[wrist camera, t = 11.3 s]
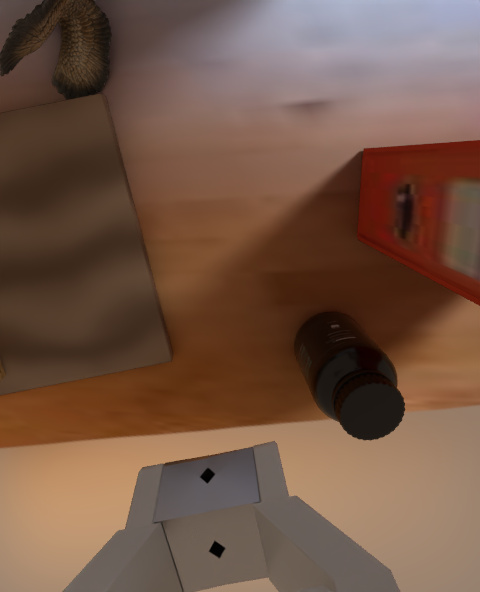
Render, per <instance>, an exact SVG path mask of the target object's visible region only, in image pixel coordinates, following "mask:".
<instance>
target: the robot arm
mask: <svg viewBox="0 0 480 592" xmlns="http://www.w3.org/2000/svg"><path fill="white" fill-rule="evenodd" d="M267 577H269V579H270V581H271V582H272V583H273V585H274V586H275V587H276V589H277V590H278V591H279V592H400V590H399V588H398V586H397V584H396V581H395V579H394V577H393V575H392V572H391V570H390V569H389V568H387V567H386V566H385V565H383V564H382V563H381V562H380V561H379V560H377V559H376V558H375V557H373V556H372V555H371V554H370V553H368V552H367V551H366V550H364V549H363V548H362V547H361V546H359V545H358V544H357V543H356V542H354V541H353V540H352V539H351V538H349V537H348V536H347V535H345V534H344V533H343V532H342V531H340V530H339V529H338V528H337V527H335V526H334V525H333V524H332V523H330V522H329V521H328V520H326V519H325V518H324V517H323V516H321V515H320V514H319V513H317V512H316V511H315V510H314V509H313V508H311V507H310V506H309V505H308V504H306V503H305V502H304V501H302V500H301V499H300V498H299V497H297V496H291V497H289V494H288V490H287V486H286V481H285V477H284V473H283V468H282V464H281V460H280V455H279V451H278V447H277V443H276V442H275V441H273V442H268V443H264V444H260V445H255V446H253V447H250V448H244V449H240V450H234V451H230V452H225V453H220V454H215V455H210V456H209V455H208V456H203V457H197V458H192V459H185V460H180V461H174V462H169V463H165V464H158V465H153V466H147V467H143V468H142V469H141V470H140V471H139V474H138V478H137V482H136V486H135V490H134V494H133V498H132V503H131V507H130V511H129V515H128V519H127V523H126V527H125V529H124V530H119V531H117V532H116V533H115V534H114V536H113V537H112V538H111V539H110V540H109V541H108V542H107V543H106V544H105V545H104V547H103V548H102V549H101V550H100V551H99V552H98V553H97V554H96V555H95V556H94V558H93V559H92V560H91V561H90V562H89V563H88V564H87V565H86V566H85V567H84V569H83V570H82V571H81V572H80V573H79V574H78V575H77V576H76V577H75V578H74V580H73V581H72V582H71V583H70V584H69V585H68V586H67V587H66V588H65V589H64V591H63V592H195V591H200V590H204V589H209V588H213V587H217V586H222V585H225V584H232V583H238V582H244V581H249V580H256V579H261V578H267Z"/></svg>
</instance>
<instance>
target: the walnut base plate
mask: <svg viewBox="0 0 480 592" xmlns="http://www.w3.org/2000/svg"><path fill="white" fill-rule="evenodd" d="M172 358H173V351H172V348H171V344H170V340H169V336H168V332H167V328H166V325H165V321H164V317H163V313H162V309H161V306H160V302H159V298H158V294H157V290H156V286H155V283H154V279H153V275H152V271H151V267H150V264H149V260H148V256H147V252H146V248H145V245H144V241H143V237H142V233H141V229H140V225H139V222H138V218H137V214H136V210H135V206H134V203H133V199H132V195H131V191H130V187H129V183H128V180H127V176H126V172H125V168H124V164H123V161H122V157H121V153H120V149H119V145H118V141H117V138H116V134H115V130H114V126H113V122H112V119H111V115H110V111H109V107H108V103H107V99H106V96H104V95H102V94H96V95H91V96H85V97H80V98H75V99H70V100H65V101H60V102H55V103H49V104H44V105H39V106H34V107H29V108H24V109H18V110H13V111H8V112H3V113H0V360H1V363H2V366H3V368H4V371H5V373H6V376H5V377H4V378H3V379H2V380H1V381H0V395H4V394H9V393H14V392H19V391H25V390H30V389H35V388H40V387H45V386H50V385H55V384H60V383H65V382H70V381H75V380H80V379H85V378H90V377H95V376H100V375H105V374H110V373H115V372H120V371H125V370H131V369H136V368H141V367H146V366H151V365H156V364H161V363H166V362H171V361H172Z"/></svg>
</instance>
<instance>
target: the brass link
mask: <svg viewBox="0 0 480 592" xmlns="http://www.w3.org/2000/svg"><path fill="white" fill-rule="evenodd" d="M5 376H6V373H5V371H4V368H3V366H2V363H1V360H0V381H1V380H2V379H3V378H4V377H5Z"/></svg>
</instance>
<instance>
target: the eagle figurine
mask: <svg viewBox="0 0 480 592" xmlns="http://www.w3.org/2000/svg"><path fill="white" fill-rule="evenodd" d="M57 22H59V24H60V28H61V49H60V55H59V62H58V64H57V67H56V69H55V72H54V75H53V79H52V84H53V85H54V86H56V87H57V89H58V92H59V93H62V94H64V97H65V98H66V99H67V100H70V99H75V98H80V97H85V96H89V94H91V95H95V93H96V91H98V92H100V91H101V90H102V88H103V87H104V83H105V82H107V76H108V75H109V71H108V67H109V58H108V56H109V49H110V46H109V42H111V29H110V26H109V20H108V18H106V15H105V13H102V12H101V10H100V8H99V7H97V6H95V1H93V0H44V1H43V2H42V4H41V5H37V6H36V7H35V9H34V10H33V11H32V13H30V14H27V15H26V17H25V18H24V19H19V20H17V21H16V24H15V25H14V26H13V27H12V30H13V31H12V32H11V33H9V38H7V39H6V43H5V45H4V46H3V49H2V51H1V53H0V71H1V76H4V75H5V74H8V73H9V72H10V70H11V71H12V70H13V68H14V67H15V66H16V64H17V63H18V62H19V61H20V60H21V59H22V58H23V57H24V56H26V55H28V54H30V53H32V52H34V51H35V50H37V49H38V48H40V47H41V46H42V44H43V43H44V42H45V40H46V39H47V38H48V37H49V35H50V34H51V32H52V31H53V30H54V27H55V25H56V24H57Z"/></svg>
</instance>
